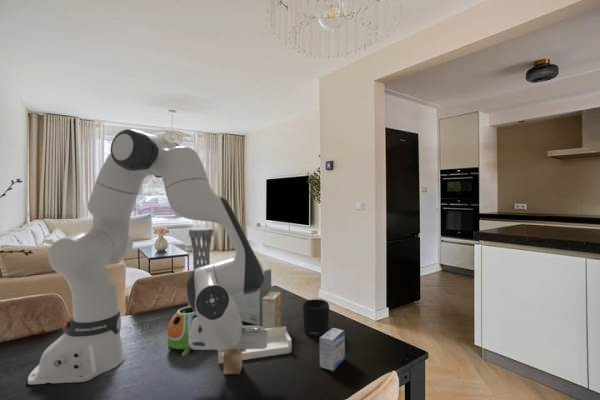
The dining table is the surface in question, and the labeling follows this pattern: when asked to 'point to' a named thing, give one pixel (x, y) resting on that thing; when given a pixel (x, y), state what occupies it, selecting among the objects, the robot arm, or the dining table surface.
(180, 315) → the turtle holder
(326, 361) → the medicine box
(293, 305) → the dining table surface
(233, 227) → the robot arm
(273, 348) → the cream shelf
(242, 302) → the hard drive box
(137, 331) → the dining table surface
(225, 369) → the oak blank
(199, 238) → the vase
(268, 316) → the supplement box
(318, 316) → the pen holder
